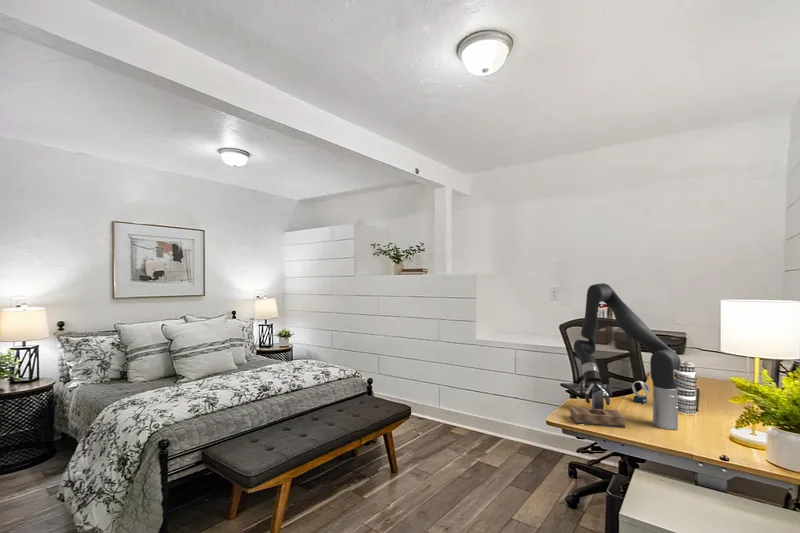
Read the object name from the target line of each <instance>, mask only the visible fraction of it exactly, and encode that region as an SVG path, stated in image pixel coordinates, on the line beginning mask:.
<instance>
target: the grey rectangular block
mask: <svg viewBox="0 0 800 533" xmlns="http://www.w3.org/2000/svg"><path fill="white" fill-rule="evenodd" d="M604 400H605V397H604V392H603V391H602V390H592V392H591V409H604Z"/></svg>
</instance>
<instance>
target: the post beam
mask: <svg viewBox="0 0 800 533" xmlns="http://www.w3.org/2000/svg"><path fill="white" fill-rule="evenodd" d="M570 419H572V420H574V421H573V422H574V423H575V425H578V424H584V425H583V426H591V425H593V426H594V427H605V428H606V427H607V428H620V429H625V428H626V417H625V416H624V415H623V414H621V413H620V412H619V411H618V410H617V409H592V407H591V408H588V407H574V406H573V407H572V406H570Z"/></svg>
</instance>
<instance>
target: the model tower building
mask: <svg viewBox="0 0 800 533" xmlns="http://www.w3.org/2000/svg"><path fill="white" fill-rule="evenodd" d="M680 362H681V364H680V366H679V368H677V369H676V370H675V371H674V379H675V381H676V382H677V384H678V412H681V413H685V414H695V413H696V414H697V407H696V405H697V400H696V391H697V386H698V385H696V384H697V383H698V382H697V381H696V380H698V378H696V376H697V373H696V368H695V367H696V365H695V364H694V362H692V361H687V360H680Z"/></svg>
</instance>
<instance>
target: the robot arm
mask: <svg viewBox="0 0 800 533" xmlns="http://www.w3.org/2000/svg"><path fill="white" fill-rule="evenodd" d="M601 302H603V303H604V304H606V306H608V307H609V308H610V310H612V312H613V315H614V318H615V320H616V323H617V325H618V327H620V328H621V330H622V331H623V332H624V333H625V334H626V335H627V336H629V338H631V339H632V340H634V341H635V342H637V343H638V344H641V345H642V346H643V347H645V348H646V349H647V351H649V353H651V356H650V362H649V364H650V365H649V366H650V378H651V380H652V425H654V426H655V427H658V428H661V429H666V430H677V431H678V430H679V413H678V384H677V382H676V381H675V377H674V375H675V374H674V372H675V371H676V369H677V368H679V366H680V364H681V362H680V361H681V358H680V356H679V355H678V353H676V352H675V351H674V350H673V349H672V348H670V347H669V346H668V345H667V344H666V343H665V342H664V341H662V340H661V339H660V338H659V337H658V336H657V335H656V334H655V333H654V332H653V330H651V329H650V328H649V326H647V325H646V323H645V322H644V321H643V320H642V319H641V318H640V317H639V316H638V315H637V314H636V313H635V312H634V311H633V310H632V309H630V307H629V306H628V305H627V304H626V303H625V302H624V301H623V300H622V299H621V298H620V297H619V295H618V293H616V291H615V290H614V289H613V288H612V287H611V286H610V284H607V283H602V282H601V283H596V284H591V285H590V286H589V287H588V288H587V292H586V303H585V313H584V314H585V315H584V320H583V322H582V323H583V324H582V327H581V331H580V335H581V336H582V338H585V339H587V340H585V339H584V340H583V339H577V340H575V341H574V342H573V350H574V352H575V354H576V356H577V357H578V359H579V361H580V365H581V370H582V375H583V379H584V383H583V382H582V381H580V382H579V384H578V389H579V395H580V396H583V397H584V400H585V403H587V404H590V403H591V399H590V393H592V390H601V391H603V392H604V400H605V404H606V406H609V404H611V400H610V398H612V395H613V391H612V388H611V385H610V384H609V383H606V384H603V382H602V378H601V376H600V370H599V367H598V364H597V361H596V358H595V356H594V355H593V354H594V353H595V352H596V350H597V349H596V348H597V347H596V335H597V332H598V328H599V319H598V318H599V317H598V308H599V305H600V303H601ZM584 387H585V388H586V391H584Z"/></svg>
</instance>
